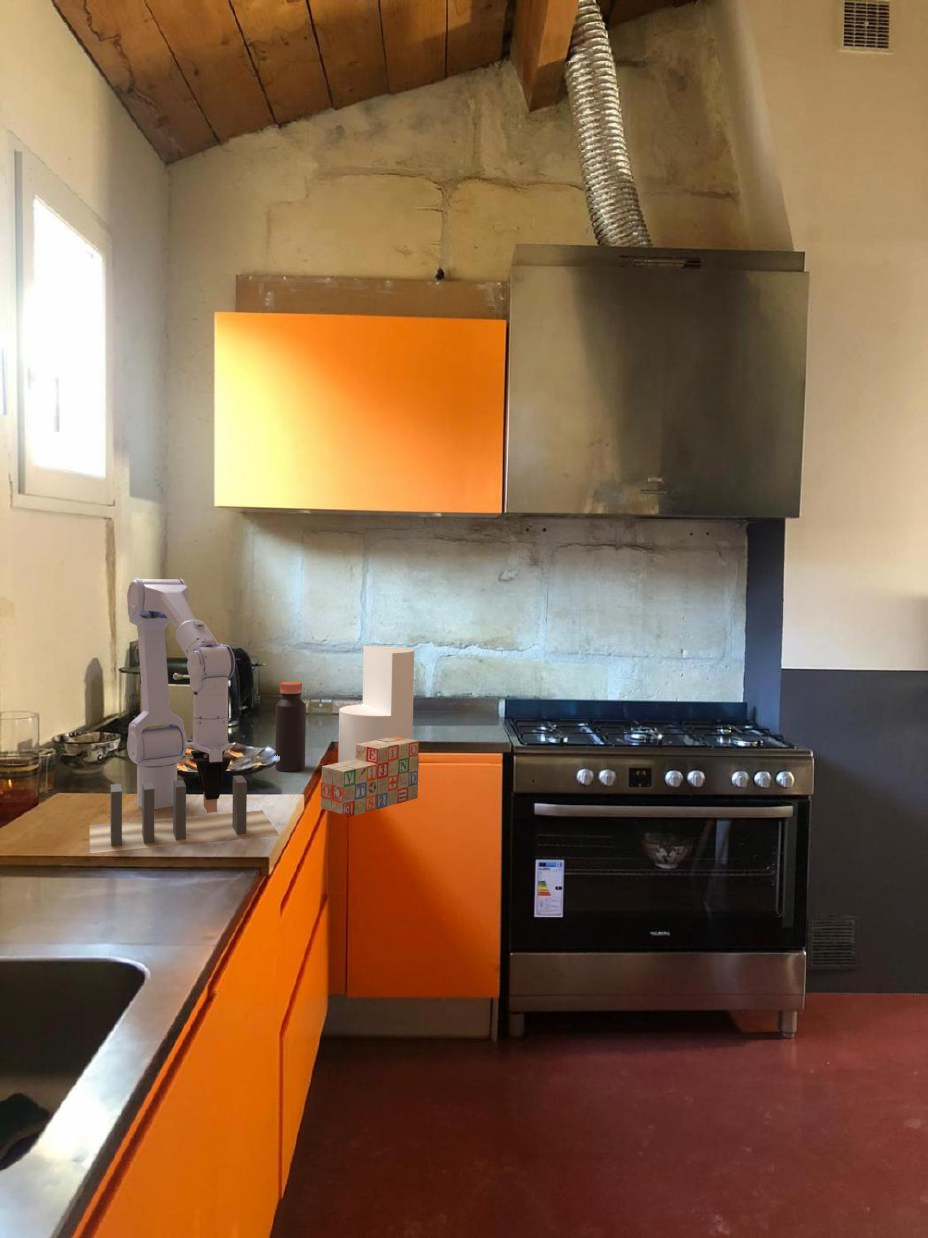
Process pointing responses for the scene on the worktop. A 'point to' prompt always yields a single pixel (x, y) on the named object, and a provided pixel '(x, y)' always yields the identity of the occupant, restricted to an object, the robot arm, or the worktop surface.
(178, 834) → the domino
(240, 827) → the end domino
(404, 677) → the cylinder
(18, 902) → the worktop surface
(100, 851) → the birch board
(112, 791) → the domino
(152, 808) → the domino
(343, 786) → the stack of blocks
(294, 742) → the bottle
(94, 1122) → the worktop surface
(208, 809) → the domino
